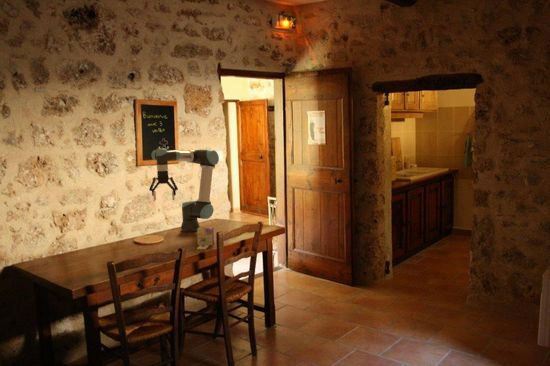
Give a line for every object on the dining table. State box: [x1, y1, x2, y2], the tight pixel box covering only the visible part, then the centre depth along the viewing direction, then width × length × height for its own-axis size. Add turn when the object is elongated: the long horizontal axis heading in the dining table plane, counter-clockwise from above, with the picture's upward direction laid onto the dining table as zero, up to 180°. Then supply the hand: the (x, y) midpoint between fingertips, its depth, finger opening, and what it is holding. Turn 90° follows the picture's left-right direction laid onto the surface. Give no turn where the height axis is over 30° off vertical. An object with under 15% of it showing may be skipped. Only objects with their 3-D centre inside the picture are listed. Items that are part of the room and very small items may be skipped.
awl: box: [200, 233, 206, 247], centre depth 348 cm, size 3×3×9 cm
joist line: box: [196, 245, 210, 250], centre depth 355 cm, size 24×6×1 cm, turn 174°
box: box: [196, 226, 215, 246], centre depth 356 cm, size 10×6×12 cm, turn 84°
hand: (164, 200), depth 361 cm, fingers open, 13 cm apart
